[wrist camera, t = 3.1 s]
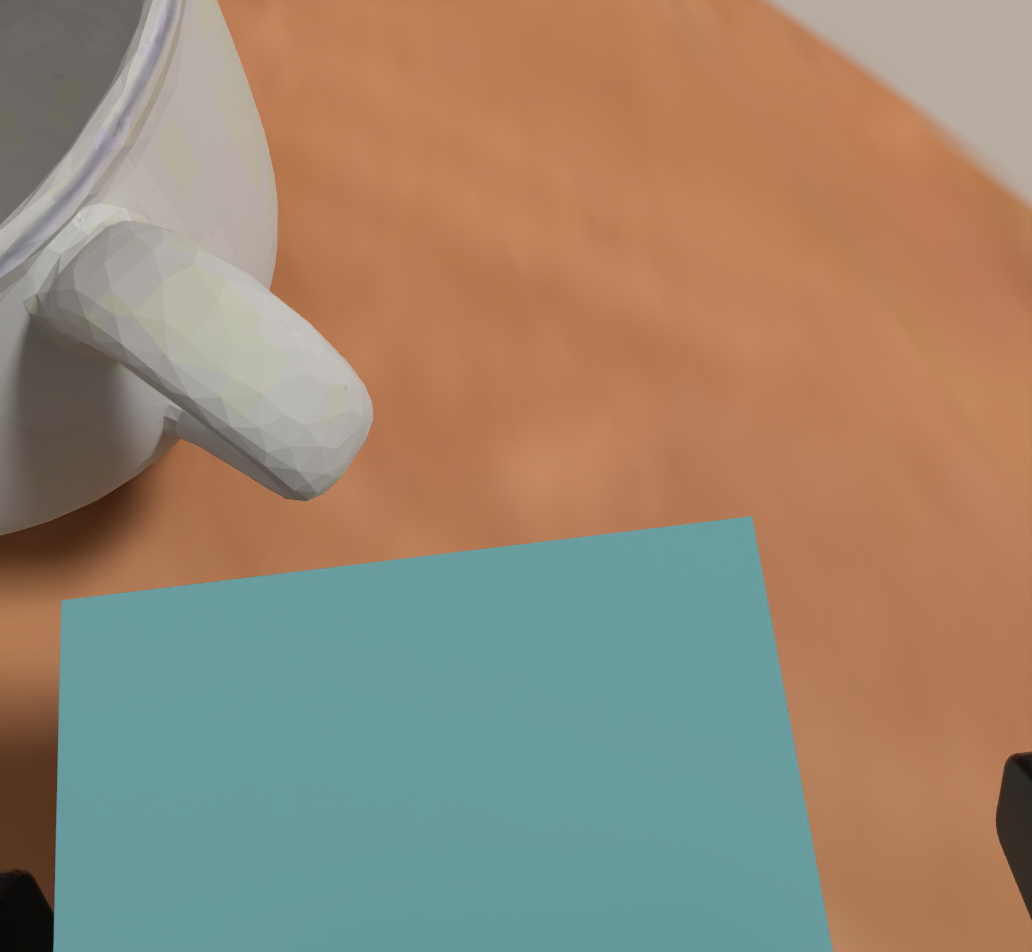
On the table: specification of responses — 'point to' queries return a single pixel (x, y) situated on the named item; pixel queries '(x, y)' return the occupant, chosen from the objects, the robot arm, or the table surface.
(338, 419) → the teacup
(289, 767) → the block
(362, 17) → the table surface
